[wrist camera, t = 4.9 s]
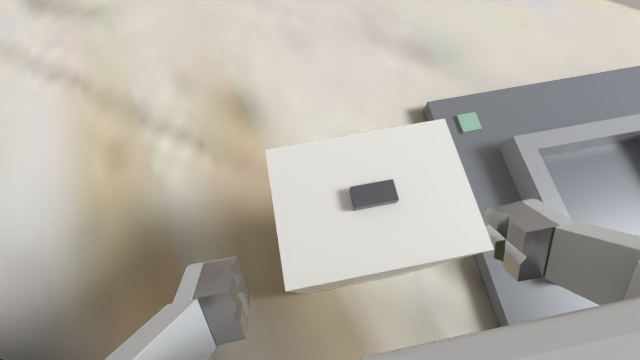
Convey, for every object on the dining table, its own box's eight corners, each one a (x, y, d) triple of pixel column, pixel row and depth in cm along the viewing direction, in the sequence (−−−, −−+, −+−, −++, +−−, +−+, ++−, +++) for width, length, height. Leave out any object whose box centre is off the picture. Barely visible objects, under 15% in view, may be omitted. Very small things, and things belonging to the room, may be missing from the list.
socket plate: (642, 72, 22) (680, 46, 20) (806, 316, 17) (885, 319, 14) (423, 110, 21) (435, 87, 19) (518, 380, 16) (553, 395, 13)
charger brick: (384, 206, 19) (448, 112, 9) (402, 274, 18) (500, 248, 8) (294, 223, 19) (263, 144, 9) (305, 294, 17) (283, 290, 8)
